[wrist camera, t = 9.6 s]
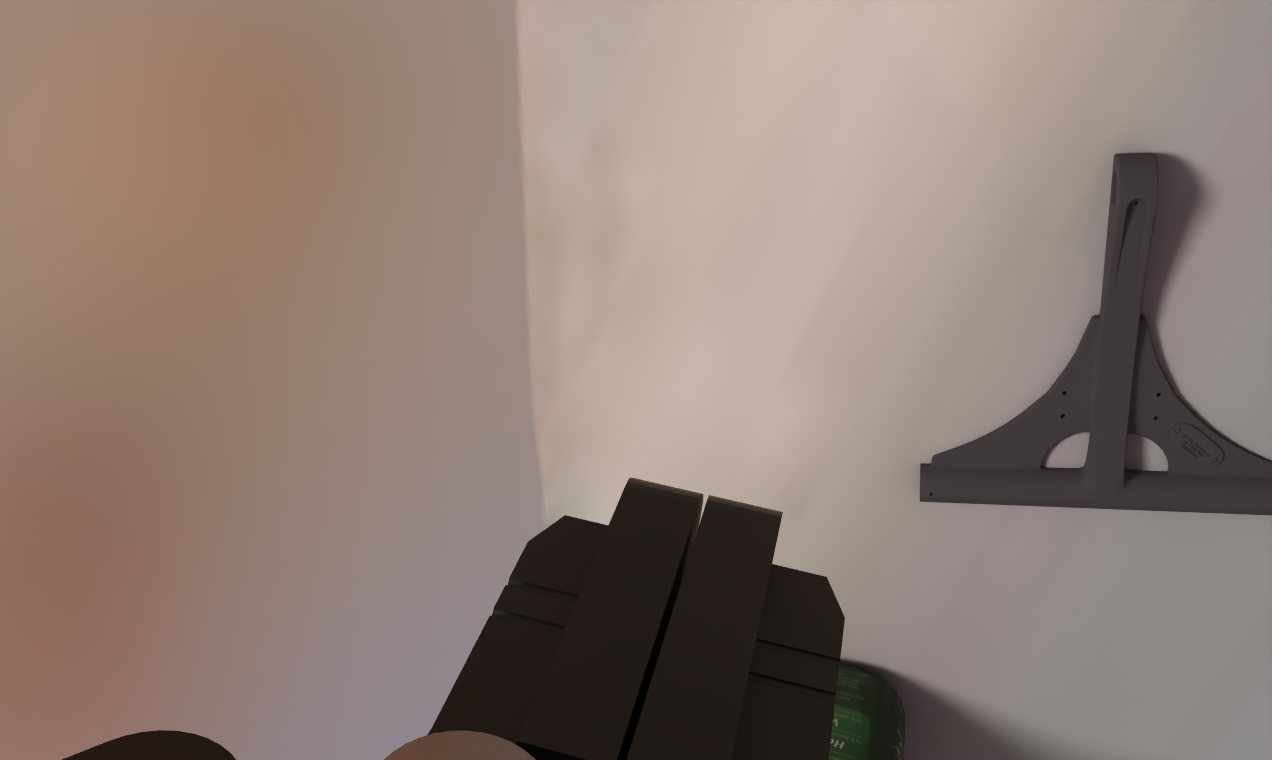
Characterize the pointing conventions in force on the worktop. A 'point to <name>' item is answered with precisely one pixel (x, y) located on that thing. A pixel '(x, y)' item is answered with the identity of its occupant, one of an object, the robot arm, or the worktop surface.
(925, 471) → the bracket
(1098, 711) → the worktop surface
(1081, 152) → the worktop surface
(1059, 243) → the worktop surface
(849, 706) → the coffee jar
